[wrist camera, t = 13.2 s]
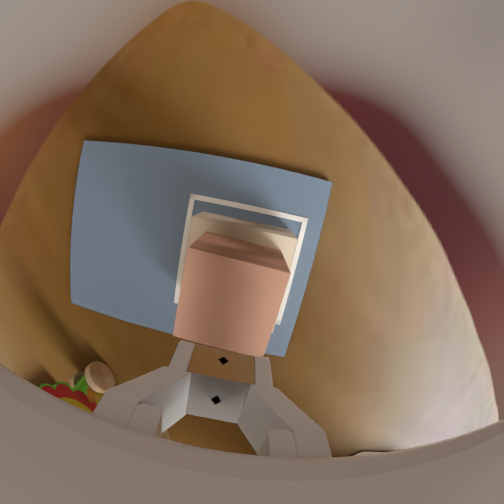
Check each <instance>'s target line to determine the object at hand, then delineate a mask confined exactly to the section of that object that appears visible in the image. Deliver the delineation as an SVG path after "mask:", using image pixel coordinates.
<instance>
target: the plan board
mask: <svg viewBox="0 0 504 504" xmlns="http://www.w3.org/2000/svg"><path fill="white" fill-rule="evenodd" d="M331 187H332V182H330V181H326V180H322V179H319V178H315V177H311V176H307V175H303V174H300V173H296V172H291V171H287V170H283V169H279V168H274V167H270V166H266V165H261V164H256V163H251V162H247V161H242V160H237V159H231V158H226V157H221V156H215V155H209V154H203V153H197V152H191V151H184V150H177V149H170V148H162V147H154V146H146V145H136V144H126V143H115V142H102V141H85V140H84V143H83V147H82V152H81V158H80V163H79V169H78V175H77V182H76V189H75V197H74V207H73V217H72V231H71V254H70V285H71V303H73V304H76V305H79V306H82V307H84V308H87V309H90V310H93V311H96V312H99V313H102V314H105V315H108V316H111V317H114V318H117V319H120V320H124V321H127V322H130V323H133V324H137V325H140V326H144V327H147V328H151V329H154V330H158V331H162V332H166V333H169V334H173V331H174V325H175V319H176V313H177V307H178V301H179V295H180V288H181V280H182V273H183V266H184V260H185V253H186V247H187V241H188V235H189V229H190V223H191V218H192V216H194V215H196V214H198V213H200V212H202V211H204V212H209V213H214V214H219V215H223V216H228V217H233V218H238V219H243V220H247V221H252V222H257V223H261V224H266V225H271V226H275V227H280V228H284V229H289V230H290V231H291V232H292V233H293V234H294V235H295V236H296V238H297V239H298V240H297V244H296V248H295V252H294V256H293V260H292V264H291V268H290V273H291V274H290V278H289V281H288V284H287V287H286V290H285V294H284V297H283V300H282V303H281V306H280V309H279V312H278V316H277V319H276V323H275V326H274V330H273V333H271V336H270V339H269V342H268V345H267V348H266V351H265V353H264V354H270V355H277V356H283V357H284V356H285V353H286V350H287V347H288V344H289V341H290V338H291V335H292V332H293V329H294V325H295V322H296V319H297V316H298V312H299V309H300V306H301V302H302V299H303V296H304V292H305V289H306V285H307V282H308V278H309V275H310V271H311V268H312V264H313V260H314V256H315V253H316V249H317V245H318V241H319V237H320V233H321V229H322V225H323V221H324V217H325V213H326V209H327V205H328V200H329V196H330V191H331Z"/></svg>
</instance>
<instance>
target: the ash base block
mask: <svg viewBox="0 0 504 504" xmlns="http://www.w3.org/2000/svg"><path fill="white" fill-rule="evenodd" d="M206 231H207V232H211V233H215V234H219V235H223V236H227V237H231V238H235V239H239V240H243V241H247V242H251V243H255V244H258V245H262V246H266V247H270V248H274V249H278V250H281V252H282V254H283V256H284V259H285V261H286V263H287V266H288V268H289V270H290V268H291V264H292V260H293V256H294V252H295V248H296V244H297V240H298V239H297V238H296V236H295V235H294V234H293V233H292V232H291V231H290V230H289V229H284V228H280V227H275V226H271V225H266V224H261V223H257V222H252V221H247V220H243V219H238V218H233V217H228V216H223V215H219V214H214V213H209V212H204V211H202V212H200V213H198V214H196V215H194V216H192V218H191V223H190V229H189V235H188V241H187V247H186V253H185V260H184V266H183V273H184V268H185V263H186V258H187V253H188V248H189V247H190V246H191V245H192V244H193V243H194V242H195V241H196V240H197V239H198V238H199V237H200V236H201V235H202V234H204V233H205V232H206ZM183 273H182V278H183ZM181 284H182V280H181ZM180 289H181V288H180ZM277 316H278V315H277ZM276 319H277V318H276ZM275 323H276V321H275ZM274 326H275V324H274ZM273 330H274V327H273ZM273 330H272V333H273Z"/></svg>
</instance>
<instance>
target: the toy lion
mask: <svg viewBox="0 0 504 504" xmlns="http://www.w3.org/2000/svg"><path fill="white" fill-rule="evenodd" d="M69 385H70V386H69ZM69 385H68V384H67V383H64V382H58V383H56V384H54V385H50V384H47V383H44V384H41V385H40V386H38V387H39V388H40V389H42V390H44V391H46V392H48V393H49V394H51V395H53V396H55V397H57V398H59V399H61V400H63V401H65V402H67V403H69V404H71V405H73V406H75V407H77V408H80V409H82V410H84V411H86V412H89V413H91V414H92V413H93V411H94V410H95V408H96V407H97V405H98V403H99V402H100V400H101V399H102V397H103V395H104V394H105V392H106V391H107V389H110V388H112V387H114V385H115V379H114V375H113V373H112V371H111V370H110V368H109V367H108V366H107V365H106V364H104V363H103V362H100V361H94V362H92V363H91V364H89V365H88V366H87V367H86V368H85V372H82V371H80V372H77V373H75V374H74V375H72V376H71V378H70V380H69ZM162 438H163V439H167V440H170V433H169V431H168V429H167V430H165V431H164V432H163V433H162Z"/></svg>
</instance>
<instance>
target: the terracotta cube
mask: <svg viewBox="0 0 504 504" xmlns="http://www.w3.org/2000/svg"><path fill="white" fill-rule="evenodd" d="M290 274H291V273H290V270H289V268H288V266H287V263H286V261H285V259H284V256H283V254H282V252H281V250H278V249H274V248H270V247H266V246H262V245H258V244H255V243H251V242H247V241H243V240H239V239H235V238H231V237H227V236H223V235H219V234H215V233H211V232H207V231H206V232H205V233H204V234H202V235H201V236H200V237H199V238H198V239H197V240H196V241H195V242H194V243H193V244H192V245H191V246H190V247H189V248H188V253H187V258H186V263H185V268H184V273H183V278H182V284H181V289H180V295H179V301H178V307H177V313H176V319H175V325H174V331H173V336H175V337H179V338H182V339H186V340H189V341H193V342H197V343H200V344H204V345H208V346H212V347H216V348H220V349H224V350H229V351H233V352H237V353H242V354H246V355H252V356H260V357H263V356H264V353H265V351H266V348H267V345H268V342H269V339H270V336H271V333H272V330H273V327H274V324H275V321H276V318H277V315H278V312H279V309H280V306H281V303H282V300H283V297H284V294H285V290H286V287H287V284H288V281H289V278H290Z"/></svg>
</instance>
